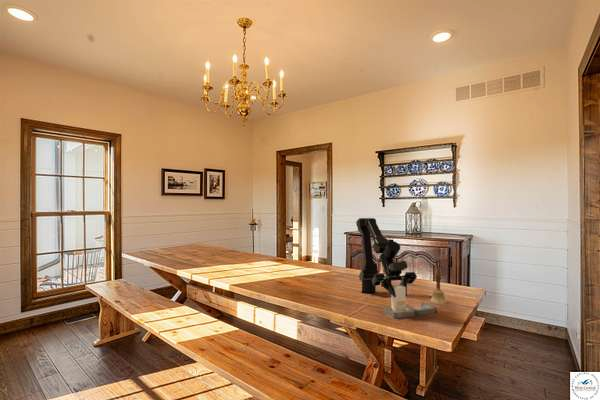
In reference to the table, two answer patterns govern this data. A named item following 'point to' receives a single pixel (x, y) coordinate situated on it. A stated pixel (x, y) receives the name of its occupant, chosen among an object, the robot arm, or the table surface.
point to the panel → (411, 311)
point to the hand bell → (438, 290)
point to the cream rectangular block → (399, 298)
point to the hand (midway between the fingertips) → (400, 296)
